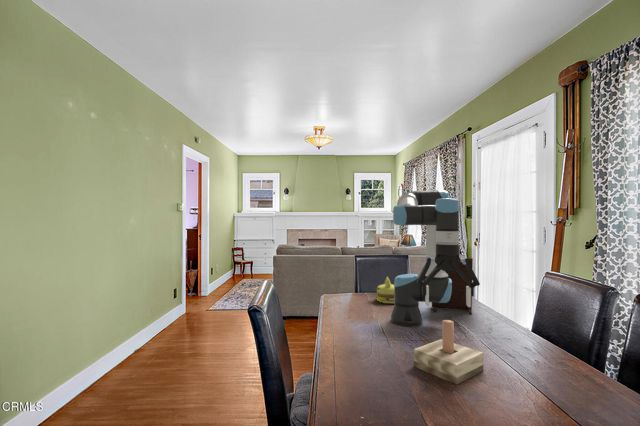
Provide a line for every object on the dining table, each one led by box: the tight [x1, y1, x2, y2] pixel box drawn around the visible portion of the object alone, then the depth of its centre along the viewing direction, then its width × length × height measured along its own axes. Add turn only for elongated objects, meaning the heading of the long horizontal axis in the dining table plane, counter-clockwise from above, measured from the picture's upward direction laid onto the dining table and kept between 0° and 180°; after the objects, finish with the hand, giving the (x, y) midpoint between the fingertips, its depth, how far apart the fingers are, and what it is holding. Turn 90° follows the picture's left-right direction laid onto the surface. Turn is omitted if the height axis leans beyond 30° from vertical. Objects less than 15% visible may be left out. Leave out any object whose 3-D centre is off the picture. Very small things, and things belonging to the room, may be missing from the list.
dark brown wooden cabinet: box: [431, 257, 474, 316], centre depth 187 cm, size 21×11×30 cm, turn 71°
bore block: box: [413, 338, 484, 385], centre depth 115 cm, size 16×16×6 cm
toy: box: [375, 276, 394, 304], centre depth 208 cm, size 16×15×15 cm
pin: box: [441, 319, 455, 355], centre depth 115 cm, size 4×4×14 cm
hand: (447, 305), depth 116 cm, fingers open, 13 cm apart
